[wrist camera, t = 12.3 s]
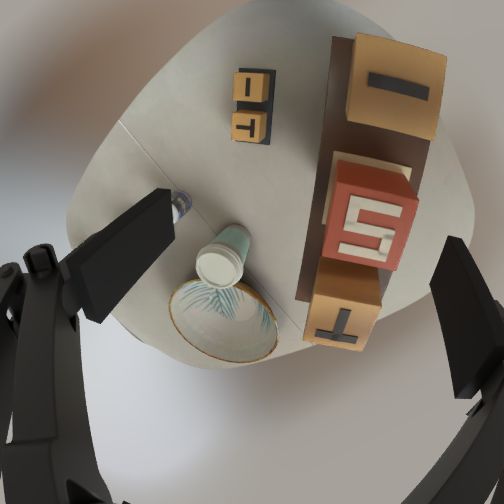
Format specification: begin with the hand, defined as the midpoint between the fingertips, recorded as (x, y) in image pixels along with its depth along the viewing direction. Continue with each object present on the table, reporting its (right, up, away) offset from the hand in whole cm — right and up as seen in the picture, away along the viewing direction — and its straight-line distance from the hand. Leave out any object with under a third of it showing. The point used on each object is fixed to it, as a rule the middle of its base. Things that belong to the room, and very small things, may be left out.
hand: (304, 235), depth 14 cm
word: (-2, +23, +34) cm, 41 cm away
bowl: (-7, -12, +59) cm, 61 cm away
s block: (+5, +3, +6) cm, 8 cm away
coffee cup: (-5, +2, +49) cm, 49 cm away
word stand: (+14, +19, +32) cm, 40 cm away
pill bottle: (-16, +10, +48) cm, 52 cm away
